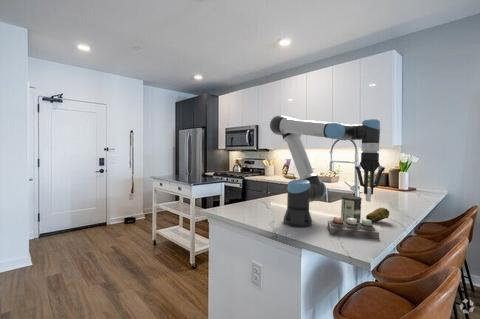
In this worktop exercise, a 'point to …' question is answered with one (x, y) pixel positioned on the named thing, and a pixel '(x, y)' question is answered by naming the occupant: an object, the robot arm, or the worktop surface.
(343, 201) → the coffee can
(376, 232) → the button board
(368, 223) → the button sage
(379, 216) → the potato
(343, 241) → the worktop surface
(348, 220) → the button cream
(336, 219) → the button terracotta
